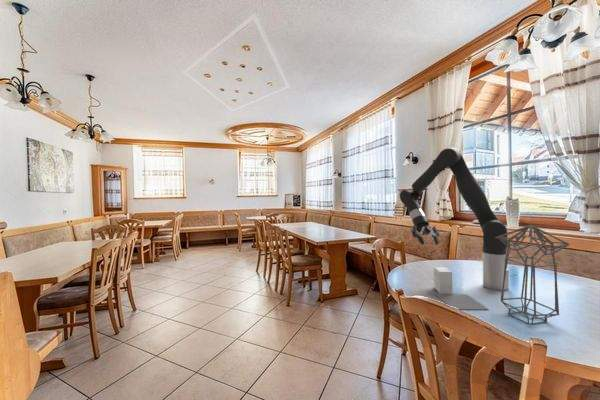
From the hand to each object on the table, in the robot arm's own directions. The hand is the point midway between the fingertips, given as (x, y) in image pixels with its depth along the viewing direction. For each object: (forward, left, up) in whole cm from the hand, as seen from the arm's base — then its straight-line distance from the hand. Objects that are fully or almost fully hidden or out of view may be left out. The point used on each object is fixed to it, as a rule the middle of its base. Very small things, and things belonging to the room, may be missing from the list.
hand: (430, 243), depth 131 cm
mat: (-2, +23, -21) cm, 31 cm away
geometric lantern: (-19, +38, -21) cm, 47 cm away
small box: (-1, +11, -21) cm, 24 cm away
